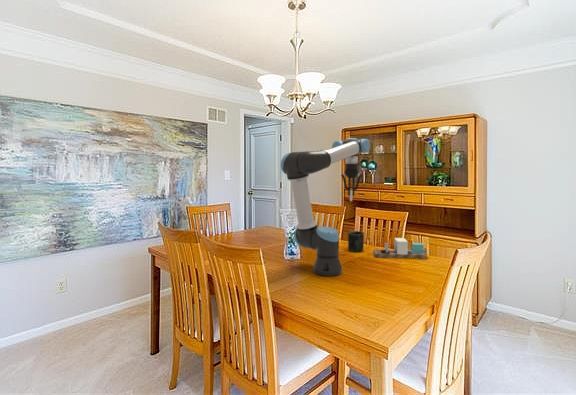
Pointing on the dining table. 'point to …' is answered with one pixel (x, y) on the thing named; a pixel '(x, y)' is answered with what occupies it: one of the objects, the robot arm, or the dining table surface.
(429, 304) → the dining table surface
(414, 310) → the dining table surface
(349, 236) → the mug
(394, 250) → the sled
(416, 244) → the block
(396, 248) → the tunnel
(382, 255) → the deck
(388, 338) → the dining table surface
